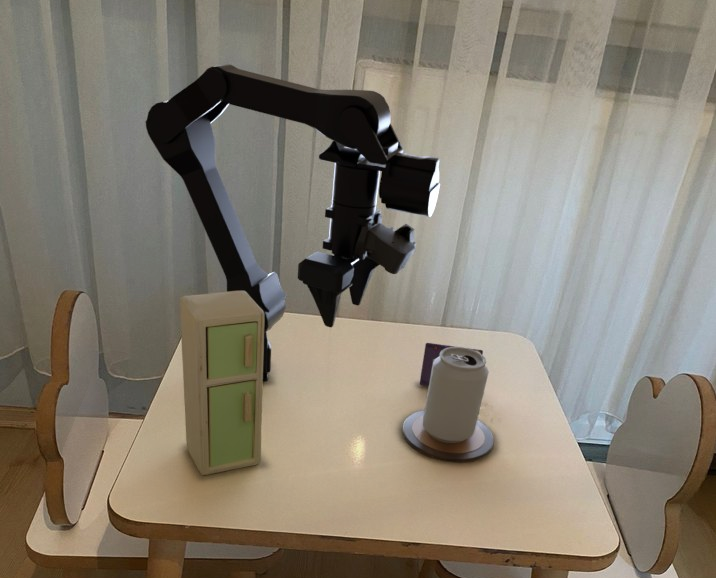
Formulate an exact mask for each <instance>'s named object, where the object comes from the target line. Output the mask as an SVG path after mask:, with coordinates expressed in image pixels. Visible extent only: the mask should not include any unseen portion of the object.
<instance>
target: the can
mask: <svg viewBox="0 0 716 578" xmlns="http://www.w3.org/2000/svg"><path fill="white" fill-rule="evenodd" d="M469 348H470V347H463V346H456V347H449V348H445V349H443V350H442V351H441V352H440V354H439V355H440V356H439V357H437V358H436V359H435V360H434V362H433V366H432V372H431V377H430V382H429V386H428V388H427V394H426V399H425V405H424V409H423V410H424V415H423V420H422V424H423V427H424V429H425V430H426V431H427V432H428V433H429V435H430V436H432V437H433V438H434V439H437V440H439V441H442V442H446V443H459V442H462V441H464V440H466V439H469V438H470V437H471V436H473V434H474V432H475V428H476V423H477V420H479V414H480V411H481V407H482V402H483V398H484V394H485V389H486V385H487V382H488V381H487V380H488V376H489V368H488V366H487V365H486V364H487V359H486V357H485V356H484V355H482V354H480V353H479V352H477V351H475V350H472V349H473V348H471V349H469Z"/></svg>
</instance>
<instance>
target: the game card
mask: <svg viewBox="0 0 716 578" xmlns="http://www.w3.org/2000/svg"><path fill="white" fill-rule="evenodd" d="M424 345H425V346H424V353H423V358H422V365H421V372H420V378H419V385H420V386H421V387H422V386H424V387H429V382H430V377H431V372H432V366H433V362H434V360H435V359H436V358H437V357H439V356H440V355H439V354H440V352H441V351H442V350H443V349H445V348H449V347H457V345H450V344H449V345H448V344H440V343H433V342H426V343H425V344H424ZM468 348H469V349H472V350H475V351H477V352H479V353H480V354H482V355H483V354H484V350H483V349H478V348H470V347H468ZM483 356H484V355H483Z"/></svg>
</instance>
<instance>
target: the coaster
mask: <svg viewBox="0 0 716 578" xmlns="http://www.w3.org/2000/svg"><path fill="white" fill-rule="evenodd" d="M423 415H424V409H422V410H418V411H416V412H413V413H411V414H410V415H409V416H408V417H407V418H406V419H405V420H404V421H403V425H402V429H401V430H402V435H403V438H404V440H405V441H406V443H407V444H408V445H409V446H410V447H411V448H413V449H414V450H415V451H417V452H419V453H420V454H422V455H424V456H426V457H428V458H432V459H434V460H438V461H441V462H442V461H443V462H448V463H468V462H475V461H478V460H481V459H482V458H484V457H486V456H487V455H488V454H489V453H491V451H492V449H493V446H494V436H493V435H494V434H493V433H492V432H491V430H490V428H489V427H487V426H486V424H484V423H483V422H482V421H480V420H479V419H477V423H476V428H475V432H474V434H473V436H471V437H470V438H469V439H466V440H464V441H462V442H459V443H446V442H442V441H439V440H437V439H434V438H433V437H432V436H430V435H429V433H428V432H427V431H426V430H425V429H424V427H423V424H422V420H423Z"/></svg>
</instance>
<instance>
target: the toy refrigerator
mask: <svg viewBox="0 0 716 578" xmlns="http://www.w3.org/2000/svg"><path fill="white" fill-rule="evenodd" d="M179 316H180V318H179V319H180V337H181V338H180V339H181V357H182V378H183V400H184V401H183V402H184V419H185V439H186V440H185V441H186V448H187V451H188V453H189V455H190V457H191V459H192V461H193V462H194V464H195V466H196V468H197V470H198V472H199V473H200V475H201V476H208V475H213V474H218V473H222V472H227V471H232V470H237V469H241V468H246V467H252V466H256V465H259V464H260V463H261V461H262V425H263V424H262V422H263V421H262V419H263V416H262V415H263V387H264V386H263V354H264V312H263V310H262V309H261V308H260V307H259V306H258V305H257V304H256V302H255V301H254V300H253V299H252V298H251V297H250V296H249V295H248V293H247V292H246V291H229V292H227V291H220V292H210V293H209V292H208V293H200V294H190V295H183V296H180V297H179Z"/></svg>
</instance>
